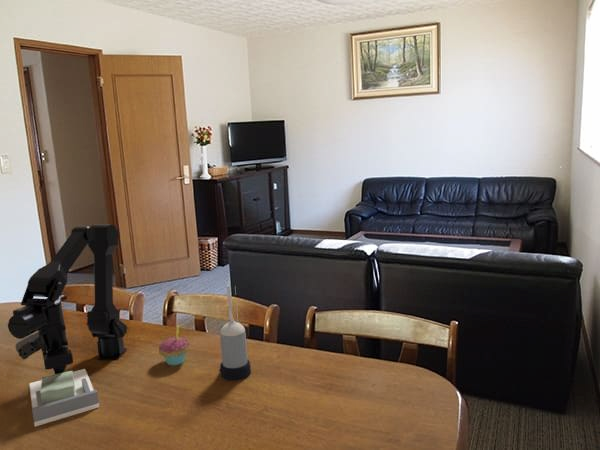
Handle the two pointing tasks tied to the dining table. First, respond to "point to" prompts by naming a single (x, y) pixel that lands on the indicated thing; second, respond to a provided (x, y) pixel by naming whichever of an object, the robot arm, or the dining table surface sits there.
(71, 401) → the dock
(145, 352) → the dining table surface
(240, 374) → the humidifier
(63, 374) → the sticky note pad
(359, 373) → the dining table surface
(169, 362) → the cupcake
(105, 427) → the dining table surface
